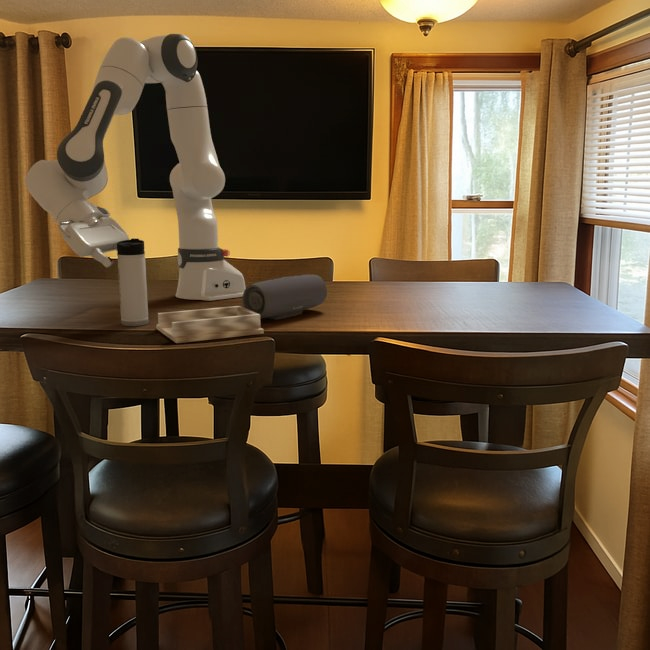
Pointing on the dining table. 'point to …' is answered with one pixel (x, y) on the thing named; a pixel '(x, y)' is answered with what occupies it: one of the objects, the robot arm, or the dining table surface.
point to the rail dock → (209, 324)
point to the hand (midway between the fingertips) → (120, 262)
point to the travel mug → (132, 282)
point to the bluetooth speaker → (284, 296)
